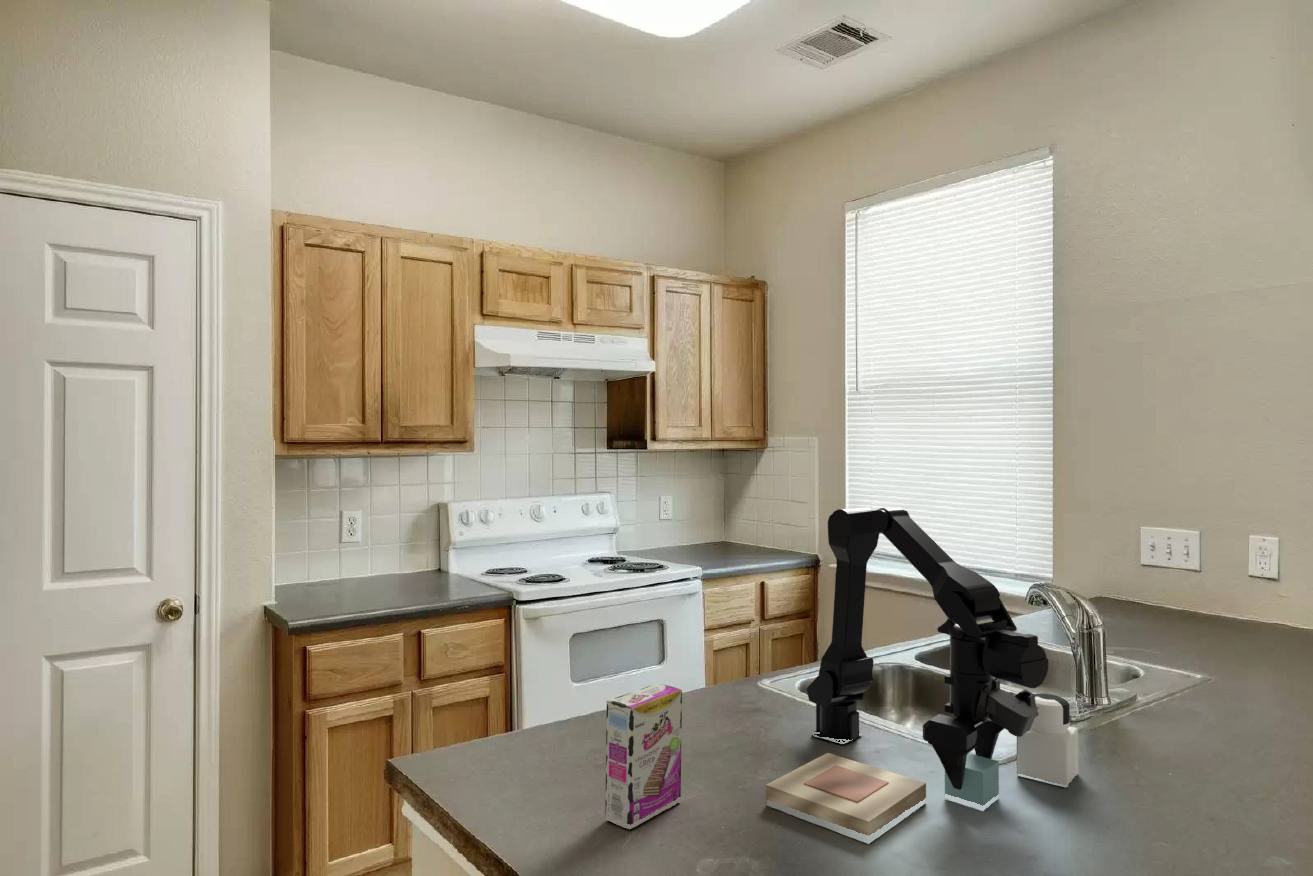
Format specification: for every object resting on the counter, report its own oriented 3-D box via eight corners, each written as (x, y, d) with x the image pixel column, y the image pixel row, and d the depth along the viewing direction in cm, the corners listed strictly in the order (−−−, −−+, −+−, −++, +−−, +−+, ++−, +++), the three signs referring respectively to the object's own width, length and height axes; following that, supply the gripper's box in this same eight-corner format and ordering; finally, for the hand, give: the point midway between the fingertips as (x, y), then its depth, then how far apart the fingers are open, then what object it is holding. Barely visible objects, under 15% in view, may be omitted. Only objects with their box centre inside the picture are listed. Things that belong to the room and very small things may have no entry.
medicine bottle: (1029, 762, 130) (1029, 687, 130) (1078, 774, 126) (1078, 696, 126) (1016, 777, 125) (1015, 698, 125) (1067, 789, 120) (1067, 708, 120)
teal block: (944, 800, 117) (944, 761, 117) (961, 788, 121) (961, 751, 121) (983, 812, 113) (983, 772, 113) (998, 799, 117) (998, 761, 117)
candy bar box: (632, 833, 107) (631, 708, 107) (604, 822, 111) (603, 700, 111) (684, 803, 116) (683, 687, 116) (656, 794, 119) (656, 681, 119)
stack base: (765, 806, 115) (765, 783, 115) (827, 772, 127) (827, 751, 127) (868, 845, 104) (868, 820, 104) (926, 804, 116) (926, 781, 116)
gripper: (1003, 697, 105) (1003, 819, 105) (1053, 667, 118) (1053, 775, 118) (920, 679, 113) (920, 793, 113) (976, 653, 126) (976, 754, 126)
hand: (971, 778), depth 117 cm, fingers open, 9 cm apart
